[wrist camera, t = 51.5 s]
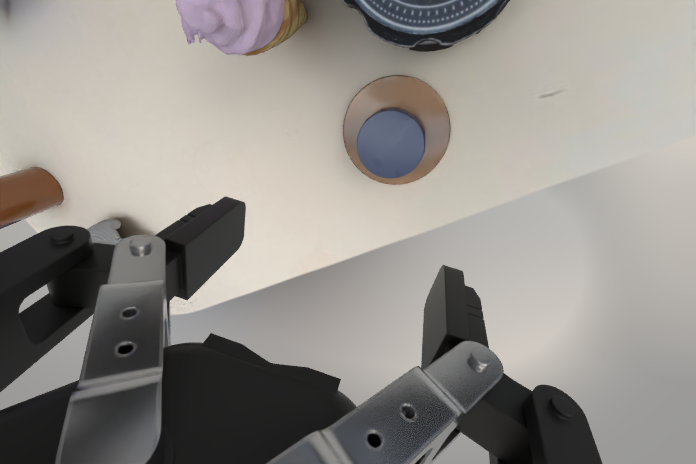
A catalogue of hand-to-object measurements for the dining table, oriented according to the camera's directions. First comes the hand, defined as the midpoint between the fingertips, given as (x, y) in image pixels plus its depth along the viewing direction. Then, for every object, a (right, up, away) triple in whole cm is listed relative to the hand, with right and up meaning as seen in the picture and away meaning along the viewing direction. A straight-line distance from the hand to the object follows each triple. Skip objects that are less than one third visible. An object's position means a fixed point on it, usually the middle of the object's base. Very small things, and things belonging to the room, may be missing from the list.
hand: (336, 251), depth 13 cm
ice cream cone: (-4, +20, +16) cm, 26 cm away
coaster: (+5, +10, +19) cm, 22 cm away
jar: (-41, +7, +33) cm, 53 cm away
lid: (+4, +9, +17) cm, 20 cm away
